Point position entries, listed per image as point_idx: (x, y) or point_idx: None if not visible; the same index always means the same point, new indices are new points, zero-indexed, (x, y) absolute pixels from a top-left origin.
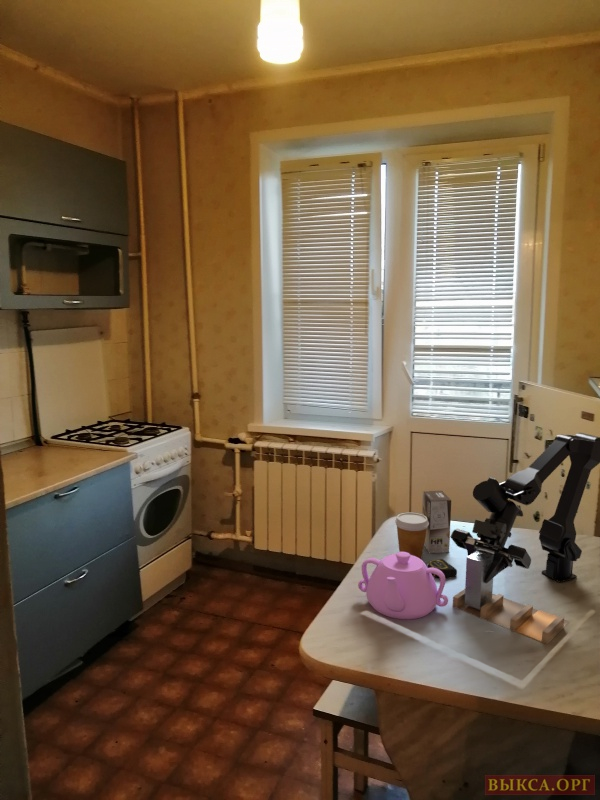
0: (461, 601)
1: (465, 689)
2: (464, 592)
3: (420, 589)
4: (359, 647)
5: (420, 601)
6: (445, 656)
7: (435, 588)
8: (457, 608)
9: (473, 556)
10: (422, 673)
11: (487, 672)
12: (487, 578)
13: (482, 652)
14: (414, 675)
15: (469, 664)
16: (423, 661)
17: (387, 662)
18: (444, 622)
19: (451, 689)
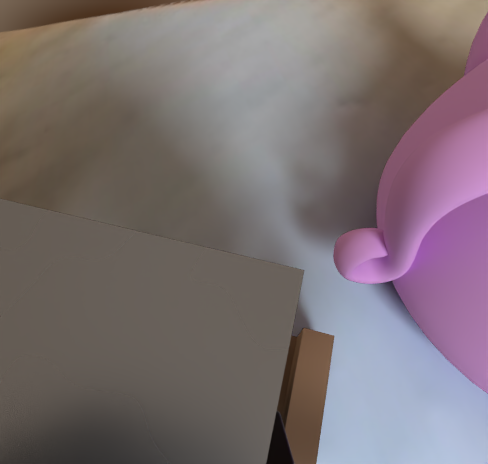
0: (290, 382)
1: (171, 12)
2: (292, 439)
3: (476, 78)
4: (454, 21)
5: (428, 109)
6: (243, 77)
7: (436, 222)
8: (294, 336)
9: (139, 399)
10: (271, 13)
11: (129, 70)
12: None
13: (149, 133)
14: (284, 3)
15: (176, 77)
16: (286, 42)
17: (359, 10)
18: (311, 231)
19: (198, 2)
